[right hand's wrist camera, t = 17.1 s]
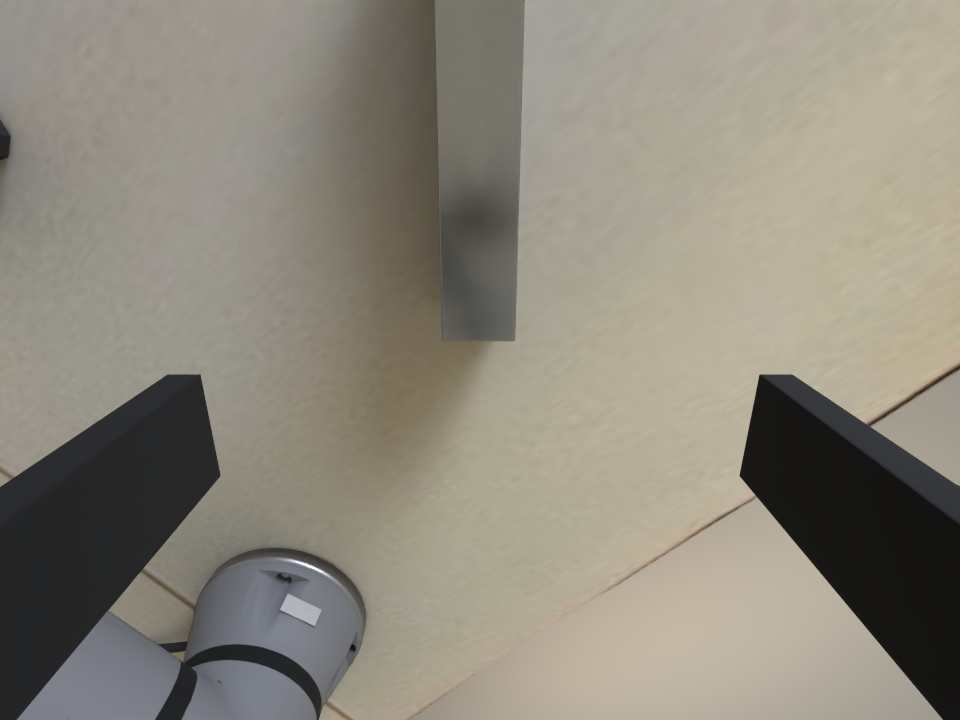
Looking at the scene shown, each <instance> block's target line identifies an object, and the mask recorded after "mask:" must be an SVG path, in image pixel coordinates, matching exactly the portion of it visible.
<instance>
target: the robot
mask: <svg viewBox="0 0 960 720" xmlns="http://www.w3.org/2000/svg"><path fill="white" fill-rule="evenodd" d="M9 143H10V135H9V133H8V131H7V130H6V128H5V127H4V125H3V124H2V122H1V121H0V160H1V159H4V158H7V157H8V152H9Z"/></svg>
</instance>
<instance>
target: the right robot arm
mask: <svg viewBox="0 0 960 720" xmlns="http://www.w3.org/2000/svg"><path fill="white" fill-rule="evenodd" d="M219 477H220V471H219V466H218V461H217V456H216V451H215V446H214V441H213V436H212V431H211V426H210V421H209V416H208V411H207V406H206V400H205V395H204V390H203V385H202V380H201V375H166V376H165V377H163V378H162V379H160V380H159V381H158V382H156V383H155V384H153V385H152V386H150V387H149V388H147V389H146V390H144V391H143V392H141V393H140V394H138V395H137V396H135V397H134V398H132V399H131V400H129V401H128V402H126V403H125V404H123V405H122V406H120V407H119V408H117V409H116V410H114V411H113V412H111V413H110V414H108V415H107V416H105V417H104V418H102V419H101V420H99V421H98V422H96V423H95V424H93V425H92V426H91V427H89V428H88V429H86V430H85V431H83V432H82V433H80V434H79V435H77V436H76V437H74V438H73V439H71V440H70V441H68V442H67V443H65V444H64V445H62V446H61V447H59V448H58V449H56V450H55V451H53V452H52V453H50V454H49V455H47V456H46V457H44V458H43V459H41V460H40V461H38V462H37V463H35V464H34V465H32V466H31V467H29V468H28V469H26V470H25V471H24V472H22V473H21V474H19V475H18V476H16V477H15V478H13V479H12V480H10V481H9V482H7V483H6V484H4V485H3V486H1V487H0V720H319V717H320V713H321V710H322V708H323V706H324V705H325V703H326V702H327V700H328V699H329V697H330V696H331V694H332V693H333V691H334V690H335V688H336V687H337V685H338V684H339V682H340V681H341V679H342V678H343V676H344V675H345V673H346V672H347V670H348V669H349V667H350V666H351V664H352V662H353V661H354V659H355V657H356V656H357V654H358V652H359V649H360V646H361V643H362V639H363V635H364V631H365V626H366V610H365V606H364V603H363V600H362V597H361V595H360V593H359V592H358V590H357V588H356V587H355V586H354V584H353V583H352V582H351V581H350V579H349V578H348V577H347V576H346V575H345V574H343V573H342V572H341V571H340V570H339V569H337V568H336V567H334V566H333V565H331V564H330V563H328V562H326V561H324V560H322V559H320V558H318V557H316V556H313V555H311V554H307V553H304V552H300V551H296V550H290V549H280V548H268V549H259V550H253V551H250V552H246V553H243V554H240V555H238V556H236V557H234V558H232V559H230V560H228V561H227V562H225V563H224V564H223V565H222V566H220V567H219V568H218V569H217V570H216V571H215V573H214V574H213V575H212V576H211V578H210V579H209V581H208V583H207V584H206V586H205V587H204V589H203V590H202V592H201V594H200V596H199V598H198V600H197V604H196V607H195V610H194V616H193V622H192V626H191V630H190V634H189V638H188V641H186V642H178V643H168V644H156V643H155V642H153V641H152V640H150V639H149V638H148V637H146V636H145V635H143V634H142V633H140V632H139V631H137V630H136V629H134V628H133V627H132V626H130V625H129V624H127V623H126V622H124V621H123V620H121V619H120V618H118V617H117V616H115V615H114V614H113V613H111V612H110V611H108V610H109V609H110V608H111V606H112V605H113V604H114V603H115V602H116V600H117V599H118V598H119V597H120V596H121V594H122V593H123V592H124V591H125V590H126V588H127V587H128V586H129V585H130V584H131V582H132V581H133V580H134V579H135V578H136V576H137V575H138V574H139V573H140V572H141V570H142V569H143V568H144V567H145V566H146V564H147V563H148V562H149V561H150V560H151V558H152V557H153V556H154V555H155V554H156V552H157V551H158V550H159V549H160V548H161V546H162V545H163V544H164V543H165V542H166V540H167V539H168V538H169V537H170V536H171V534H172V533H173V532H174V531H175V530H176V529H177V527H178V526H179V525H180V524H181V523H182V521H183V520H184V519H185V518H186V517H187V515H188V514H189V513H190V512H191V511H192V509H193V508H194V507H195V506H196V505H197V503H198V502H199V501H200V500H201V499H202V497H203V496H204V495H205V494H206V493H207V491H208V490H209V489H210V488H211V487H212V485H213V484H214V483H215V482H216V481H217V479H218V478H219ZM740 477H741V478H742V479H743V481H744V482H745V483H746V484H747V485H748V487H749V488H750V489H751V490H752V491H753V493H754V494H755V495H756V496H757V497H758V499H759V500H760V501H761V502H762V503H763V505H764V506H765V507H766V508H767V509H768V510H769V512H770V513H771V514H772V515H773V517H774V518H775V519H776V520H777V521H778V523H779V524H780V525H781V526H782V527H783V529H784V530H785V531H786V532H787V533H788V534H789V536H790V537H791V538H792V539H793V540H794V542H795V543H796V544H797V545H798V546H799V548H800V549H801V550H802V551H803V552H804V554H805V555H806V556H807V557H808V558H809V560H810V561H811V562H812V563H813V564H814V566H815V567H816V568H817V569H818V570H819V572H820V573H821V574H822V575H823V576H824V578H825V579H826V580H827V581H828V582H829V584H830V585H831V586H832V587H833V588H834V590H835V591H836V592H837V593H838V594H839V596H840V597H841V598H842V599H843V600H844V602H845V603H846V604H847V605H848V606H849V608H850V609H851V610H852V611H853V612H854V614H855V615H856V616H857V617H858V618H859V619H860V621H861V622H862V623H863V624H864V625H865V627H866V628H867V629H868V630H869V632H870V633H871V634H872V635H873V636H874V638H875V639H876V640H877V641H878V642H879V643H880V645H881V646H882V647H883V648H884V649H885V651H886V652H887V653H888V654H889V655H890V657H891V658H892V659H893V660H894V661H895V663H896V664H897V665H898V666H899V667H900V669H901V670H902V671H903V672H904V673H905V675H906V676H907V677H908V678H909V679H910V681H911V682H912V683H913V684H914V685H915V687H916V688H917V689H918V690H919V691H920V693H921V694H922V695H923V696H924V697H925V698H926V700H927V701H928V702H929V703H930V705H931V706H932V707H933V708H934V709H935V711H936V712H937V713H938V714H939V715H940V717H941V718H942V719H943V720H960V486H958V485H956V484H954V483H953V482H951V481H950V480H948V479H947V478H945V477H944V476H942V475H941V474H939V473H938V472H936V471H935V470H934V469H932V468H930V467H929V466H927V465H926V464H925V463H923V462H922V461H920V460H919V459H917V458H916V457H914V456H913V455H911V454H910V453H908V452H907V451H905V450H904V449H902V448H901V447H899V446H898V445H896V444H895V443H893V442H892V441H890V440H889V439H887V438H886V437H884V436H883V435H881V434H880V433H878V432H877V431H875V430H874V429H872V428H871V427H869V426H868V425H867V424H865V423H864V422H862V421H861V420H859V419H858V418H856V417H855V416H853V415H852V414H850V413H849V412H847V411H846V410H844V409H843V408H841V407H840V406H838V405H837V404H835V403H834V402H832V401H831V400H829V399H828V398H826V397H825V396H823V395H822V394H820V393H819V392H817V391H816V390H814V389H813V388H811V387H810V386H808V385H807V384H805V383H804V382H802V381H801V380H800V379H798V378H797V377H795V376H794V375H759V380H758V385H757V390H756V395H755V400H754V406H753V411H752V416H751V421H750V426H749V431H748V436H747V441H746V446H745V451H744V456H743V461H742V466H741V471H740ZM181 651H185V656H184V661H183V662H182V661H181V660H180V659H178V658H177V657H175V656H174V655H172V654H171V653H173V652H181Z"/></svg>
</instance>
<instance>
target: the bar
mask: <svg viewBox="0 0 960 720" xmlns="http://www.w3.org/2000/svg"><path fill="white" fill-rule="evenodd" d="M524 3H525V0H434V6H435V50H436V94H437V138H438V182H439V226H440V270H441V314H442V341H515V325H516V289H517V253H518V218H519V182H520V146H521V111H522V75H523V39H524Z"/></svg>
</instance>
